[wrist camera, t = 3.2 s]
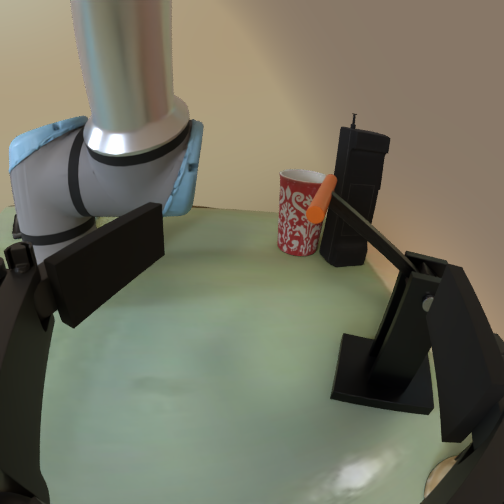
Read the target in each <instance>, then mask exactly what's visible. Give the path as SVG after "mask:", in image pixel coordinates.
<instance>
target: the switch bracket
mask: <svg viewBox="0 0 504 504" xmlns="http://www.w3.org/2000/svg"><path fill="white" fill-rule="evenodd" d="M404 256H406V257H407V258H408V259H409V260H410V261H411V262H412V263H413V264H414V265H415V266H416V267H418V266H419V265H420V264H422V263H423V262H424V263H425V264H426V265H427V266H428V267H429V268H430V269H431V270H432V271H433V272H434V273H435V274H436V275H437V276H438V277H439V278H438V277H434V276H430V275H425V274H421V273H417V272H413V271H411V274H410V277H409V280H408V282H407V285H406V281H405V278H406V276H405V275H404V274H403V273H402V272H401V271H399V274H398V277H397V280H396V283H395V286H394V289H393V292H392V295H391V297H390V300H389V303H388V306H387V308H386V311H385V314H384V316H383V319H382V321H381V324H380V326H379V329H378V331H377V334H376V336H375V339H374V340H373V339H368V338H363V337H359V336H354V335H350V334H345V333H344V334H343V336H342V339H341V344H340V350H339V355H338V361H337V367H336V372H335V377H334V382H333V387H332V392H331V397H330V399H334V400H339V401H343V402H348V403H353V404H359V405H364V406H369V407H375V408H381V409H387V410H394V411H401V412H408V413H416V414H424V415H429V414H430V412H431V411H432V410H433V409H434V402H433V391H432V382H431V373H430V366H429V358H428V352H429V350H430V348H431V341H430V335H429V330H428V325H427V320H426V315H427V313H428V311H429V308H430V306H431V304H432V301H433V299H434V296H435V294H436V292H437V289H438V287H439V284H440V282H441V279H442V276H443V274H444V271H445V268H446V266H447V264H448V262H447V261H446V260H442V259H438V258H434V257H430V256H426V255H422V254H418V253H414V252H409V251H406V252H405V255H404Z"/></svg>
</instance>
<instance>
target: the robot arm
mask: <svg viewBox="0 0 504 504" xmlns="http://www.w3.org/2000/svg"><path fill="white" fill-rule="evenodd" d="M70 2H71V10H72V18H73V25H74V31H75V37H76V43H77V49H78V54H79V59H80V65H81V69H82V74H83V79H84V83H85V88H86V92H87V96H88V100H89V104H90V109H91V112H92V115H91V116H90V118H89V119H88V118H87V117H86V116H79V117H75V118H70V119H67V120H63V121H59V122H56V123H53V124H49V125H46V126H42V127H40V128H36V129H34V130H31V131H28V132H26V133H23V134H21V135H19V136H17V137H16V138H15V139H14V140H13V141H12V142H11V145H10V147H9V164H10V168H9V174H10V179H11V186H12V192H13V198H14V204H15V209H16V214H17V219H18V223H19V228H20V232H21V236H22V242H18V243H15V244H12V245H11V246H9V247H7V248H6V249H5V250H4V254H5V257H6V261H7V264H8V267H9V269H6V267H5V264H4V260H3V259H2V258H1V257H0V504H50V498H49V492H48V488H47V485H46V482H45V480H44V478H43V476H42V474H41V471H40V425H41V410H42V399H43V389H44V381H45V373H46V366H47V360H48V354H49V348H50V342H51V337H52V332H53V327H54V322H55V320H54V316H53V313H54V312H55V311H56V310H58V312H59V314H60V317H61V320H62V322H63V323H65V324H67V325H69V326H70V327H72V328H75V327H76V326H78V325H79V324H80V323H81V322H82V321H83V320H85V319H86V318H87V317H88V316H89V315H91V314H92V313H93V312H94V311H95V310H96V309H98V308H99V307H100V306H101V305H102V304H104V303H105V302H106V301H107V300H109V299H110V298H111V297H112V296H113V295H115V294H116V293H117V292H118V291H120V290H121V289H122V288H123V287H124V286H126V285H127V284H128V283H129V282H131V281H132V280H133V279H134V278H136V277H137V276H138V275H139V274H141V273H142V272H143V271H144V270H146V269H147V268H148V267H150V266H151V265H152V264H153V263H155V262H156V261H157V260H159V259H160V258H161V257H162V256H164V255H165V251H164V235H163V217H167V216H182V215H185V214H187V213H188V212H189V211H190V210H191V208H192V205H193V201H194V194H195V186H196V179H197V171H198V163H199V157H200V150H201V143H202V136H203V124H202V122H200V121H196V120H194V119H192V120H189V110H188V106H187V105H186V103H185V102H184V101H183V100H182V99H180V98H179V97H177V96H175V95H174V93H173V69H172V30H171V29H172V15H171V14H172V9H171V8H172V0H70ZM95 217H119V218H117V219H115V220H113V221H111V222H109V223H107V224H105V225H103V226H102V227H100V228H98V229H97V227H96V223H95ZM426 320H427V325H428V330H429V335H430V341H431V346H432V352H433V358H434V365H435V372H436V379H437V387H438V396H439V407H440V419H441V435H442V442H456V443H461V442H462V441H463V440H464V439H465V438H466V437H467V436H468V435H469V434H470V433H471V432H472V440H473V442H472V443H471V444H470V445H469V446H468V447H467V448H466V449H465V450H463V451H462V452H461V453H460V454H459V455H458V456H457V457H456V458H454V460H455V461H456V460H457V461H456V463H455V464H454V465H453V466H452V468H451V469H450V470H449V471H448V473H447V474H446V475H445V476H444V477H443V479H442V480H441V481H440V482H439V483H438V485H437V486H436V487H435V488H434V489H433V490H432V491H431V492H430V494H429V495H428V496H427V497H426V498H425V499H424V500H423V501H422V502H421V503H420V504H504V342H503V340H502V339H501V338H500V336H499V335H498V334H495V333H493V331H492V329H491V327H490V324H489V322H488V320H487V317H486V315H485V313H484V311H483V309H482V306H481V304H480V302H479V300H478V298H477V296H476V294H475V292H474V289H473V287H472V285H471V283H470V282H469V280H468V278H467V276H466V274H465V272H464V270H463V268H462V267H458V266H455V265H451V264H447V266H446V268H445V271H444V274H443V276H442V279H441V282H440V284H439V287H438V289H437V292H436V294H435V296H434V299H433V301H432V304H431V306H430V308H429V311H428V313H427V315H426Z"/></svg>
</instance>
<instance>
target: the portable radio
mask: <svg viewBox="0 0 504 504" xmlns="http://www.w3.org/2000/svg"><path fill="white" fill-rule="evenodd" d="M355 115H357V114H354V115H353V123H352V124H351V128H348V127H341V129H340V137H339V144H338V151H337V159H336V165H335V171H334V176H336V178H337V183H336V186H335V189H334V192H335V193H336V194H337V195H338V196H339V197H341V198H342V199H343V200H344V201H345V202H347V203H348V204H349V205H350V206H351V207H352V208H353V209H355V210H356V211H357V212H358V213H359V214H360V215H361V216H363V217H364V218H365V219H366V220H367V221H368V222H369V223H370V224H371V223H372V219H373V214H374V210H375V205H376V200H377V195H378V190H380V186H381V179H382V171H383V164H384V157H385V154H386V153H388V151H389V144H390V138H389V137H388V136H386V135H383V134H379V133H375V132H371V131H365V130H360V129H355V126H356V125H355ZM367 250H368V249H367V240H366V239H365V238H364V237H363V236H362V235H360V234H359V233H358V232H357V231H356V230H355V229H354V228H353V227H351V226H350V225H349V224H348V223H347V222H346V221H344V220H343V219H342V218H341V217H340V216H339V215H337V214H336V213H335V212H334V211H333V210H332V209H330V208H329V207H328V212H327V218H326V223H325V228H324V232H323V237H322V241H321V246H320V251H319V252H320V254H321V255H322V256H323V257H324V258H325V260H326V261H327V262H328V263H330V264H331V265H333V266H335V267H342V266H355V265H362V264H364V261H365V257H366V254H367Z"/></svg>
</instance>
